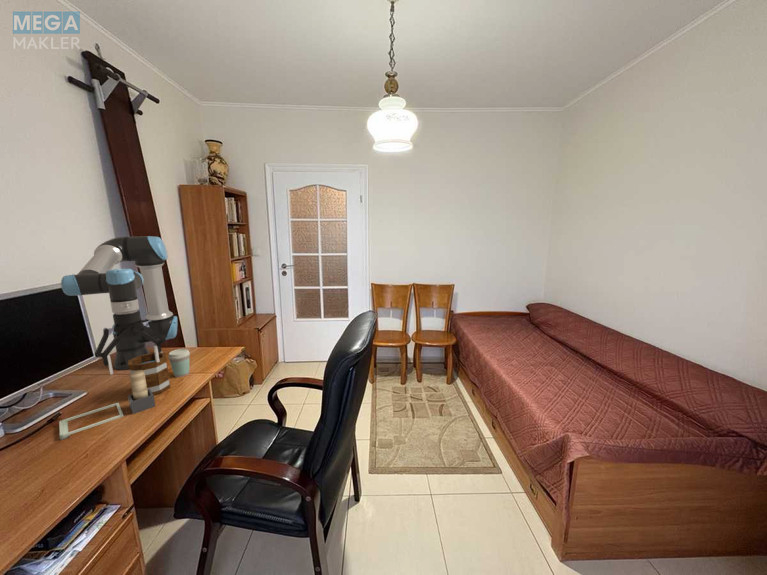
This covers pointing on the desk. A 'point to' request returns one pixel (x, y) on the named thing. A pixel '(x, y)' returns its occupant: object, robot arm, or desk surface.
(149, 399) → the pen cup
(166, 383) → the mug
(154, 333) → the robot arm
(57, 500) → the desk surface
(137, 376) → the dowel
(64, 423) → the tray
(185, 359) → the coffee cup
